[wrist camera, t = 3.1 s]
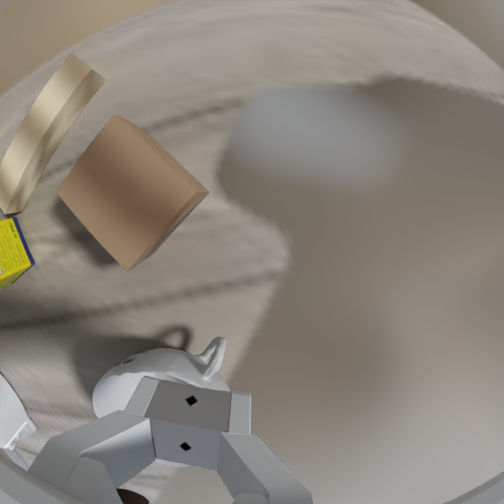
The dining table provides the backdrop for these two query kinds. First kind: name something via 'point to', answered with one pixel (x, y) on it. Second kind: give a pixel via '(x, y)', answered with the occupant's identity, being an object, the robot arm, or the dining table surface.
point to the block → (130, 192)
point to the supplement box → (12, 252)
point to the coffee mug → (131, 497)
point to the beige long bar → (44, 130)
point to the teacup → (158, 376)
